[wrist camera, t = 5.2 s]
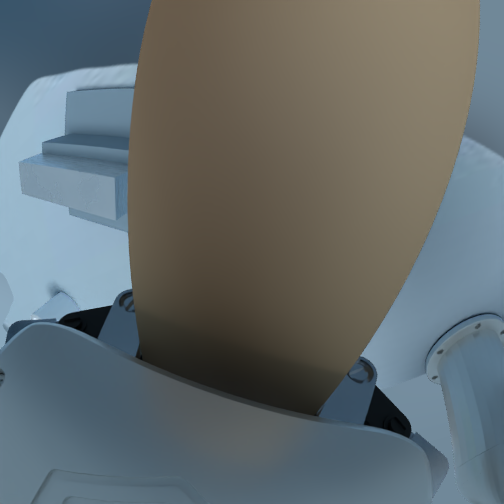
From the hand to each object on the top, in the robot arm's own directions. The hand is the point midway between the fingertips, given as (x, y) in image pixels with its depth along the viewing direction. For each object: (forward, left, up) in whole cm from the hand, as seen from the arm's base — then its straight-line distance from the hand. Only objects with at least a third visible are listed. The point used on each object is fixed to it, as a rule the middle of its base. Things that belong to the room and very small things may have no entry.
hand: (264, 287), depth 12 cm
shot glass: (+31, +26, -13) cm, 42 cm away
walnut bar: (0, 0, -1) cm, 1 cm away
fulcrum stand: (+17, 0, -12) cm, 21 cm away
